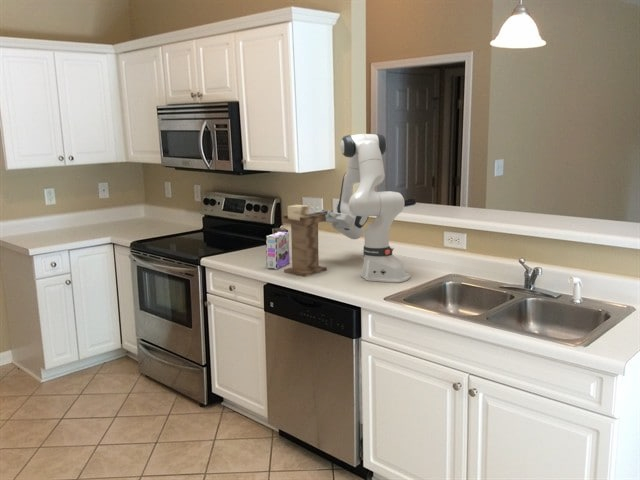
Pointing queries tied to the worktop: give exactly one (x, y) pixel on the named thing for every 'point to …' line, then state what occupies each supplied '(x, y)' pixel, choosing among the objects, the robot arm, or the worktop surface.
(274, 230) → the coffee box
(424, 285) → the worktop surface
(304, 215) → the beech block
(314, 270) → the walnut stand
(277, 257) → the candy box
